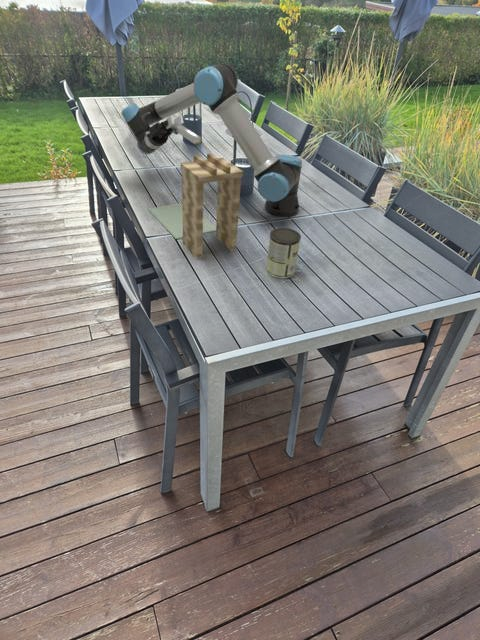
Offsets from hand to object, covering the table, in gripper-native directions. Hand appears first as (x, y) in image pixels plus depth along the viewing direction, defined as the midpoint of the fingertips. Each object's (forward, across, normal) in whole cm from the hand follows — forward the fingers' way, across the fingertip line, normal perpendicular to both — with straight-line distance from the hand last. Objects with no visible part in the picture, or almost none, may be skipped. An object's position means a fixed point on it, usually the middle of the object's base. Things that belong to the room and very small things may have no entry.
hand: (177, 119), depth 156 cm
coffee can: (+24, -16, -59) cm, 65 cm away
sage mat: (-18, -1, -34) cm, 39 cm away
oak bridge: (+3, -1, -46) cm, 46 cm away
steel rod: (+2, 0, -6) cm, 6 cm away
